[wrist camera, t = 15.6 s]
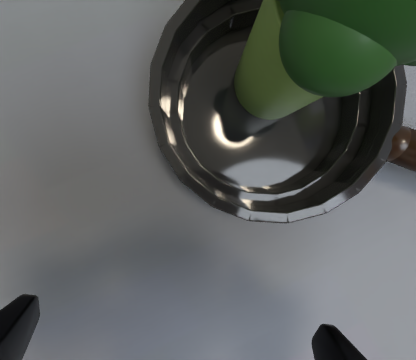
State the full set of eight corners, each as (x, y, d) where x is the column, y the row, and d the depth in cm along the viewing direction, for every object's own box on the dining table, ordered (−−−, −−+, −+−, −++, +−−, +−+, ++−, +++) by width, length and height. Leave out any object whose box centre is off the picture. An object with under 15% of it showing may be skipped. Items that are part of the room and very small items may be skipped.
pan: (395, 99, 18) (458, 79, 14) (270, 245, 19) (291, 272, 14) (249, -34, 18) (265, -101, 13) (121, 123, 18) (95, 111, 14)
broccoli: (341, 57, 18) (880, -336, 4) (293, 154, 18) (613, 135, 4) (246, 7, 17) (438, -644, 3) (199, 107, 18) (191, -91, 4)
